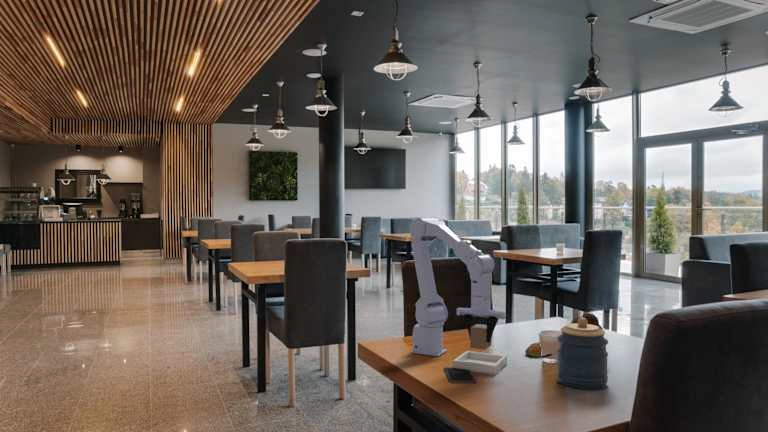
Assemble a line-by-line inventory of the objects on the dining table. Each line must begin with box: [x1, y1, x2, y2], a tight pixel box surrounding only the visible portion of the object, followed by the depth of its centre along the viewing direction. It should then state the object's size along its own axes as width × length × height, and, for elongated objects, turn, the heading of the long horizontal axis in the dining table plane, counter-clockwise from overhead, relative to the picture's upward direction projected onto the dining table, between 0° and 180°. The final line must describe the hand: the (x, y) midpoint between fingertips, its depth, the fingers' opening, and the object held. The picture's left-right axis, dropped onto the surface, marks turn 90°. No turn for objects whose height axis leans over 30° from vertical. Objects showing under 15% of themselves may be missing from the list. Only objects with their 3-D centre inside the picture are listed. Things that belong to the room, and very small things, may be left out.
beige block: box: [469, 323, 492, 351], centre depth 164 cm, size 4×6×6 cm
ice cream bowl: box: [570, 312, 606, 337], centre depth 170 cm, size 11×11×15 cm
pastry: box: [525, 341, 541, 358], centre depth 178 cm, size 9×7×4 cm
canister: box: [556, 318, 609, 391], centre depth 149 cm, size 13×13×18 cm
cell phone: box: [443, 366, 477, 384], centre depth 155 cm, size 7×14×1 cm, turn 1°
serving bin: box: [452, 350, 508, 376], centre depth 164 cm, size 13×13×2 cm
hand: (480, 341), depth 164 cm, fingers closed on beige block, 4 cm apart
